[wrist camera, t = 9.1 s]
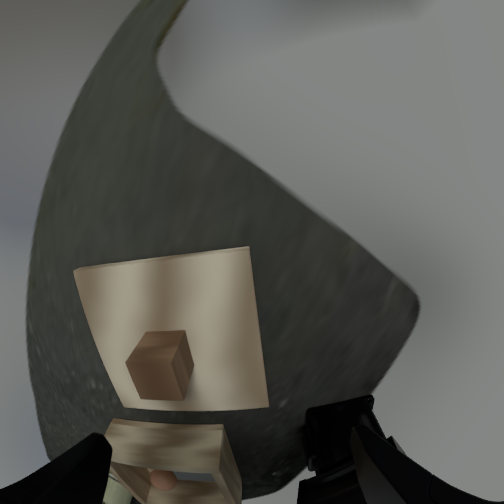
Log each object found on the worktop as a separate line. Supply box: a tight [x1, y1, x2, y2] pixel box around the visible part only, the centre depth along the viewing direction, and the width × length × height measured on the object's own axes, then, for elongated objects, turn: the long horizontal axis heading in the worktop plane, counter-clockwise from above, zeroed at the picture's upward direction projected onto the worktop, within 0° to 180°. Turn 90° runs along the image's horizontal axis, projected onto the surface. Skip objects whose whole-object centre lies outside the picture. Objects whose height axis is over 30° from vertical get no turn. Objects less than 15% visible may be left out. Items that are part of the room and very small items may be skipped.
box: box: [104, 418, 242, 504], centre depth 20 cm, size 12×12×6 cm
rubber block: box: [173, 471, 215, 481], centre depth 20 cm, size 4×4×3 cm
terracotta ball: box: [150, 469, 177, 491], centre depth 21 cm, size 3×3×3 cm
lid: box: [73, 246, 269, 411], centre depth 17 cm, size 13×13×6 cm
